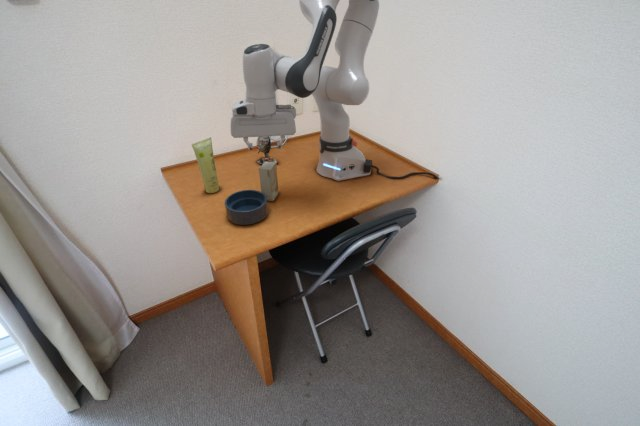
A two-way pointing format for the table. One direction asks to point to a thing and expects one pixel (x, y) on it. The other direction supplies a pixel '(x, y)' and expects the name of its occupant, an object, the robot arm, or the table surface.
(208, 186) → the tube
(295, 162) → the table surface
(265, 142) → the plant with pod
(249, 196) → the bowl
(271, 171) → the cosmetic box
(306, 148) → the table surface
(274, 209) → the table surface
